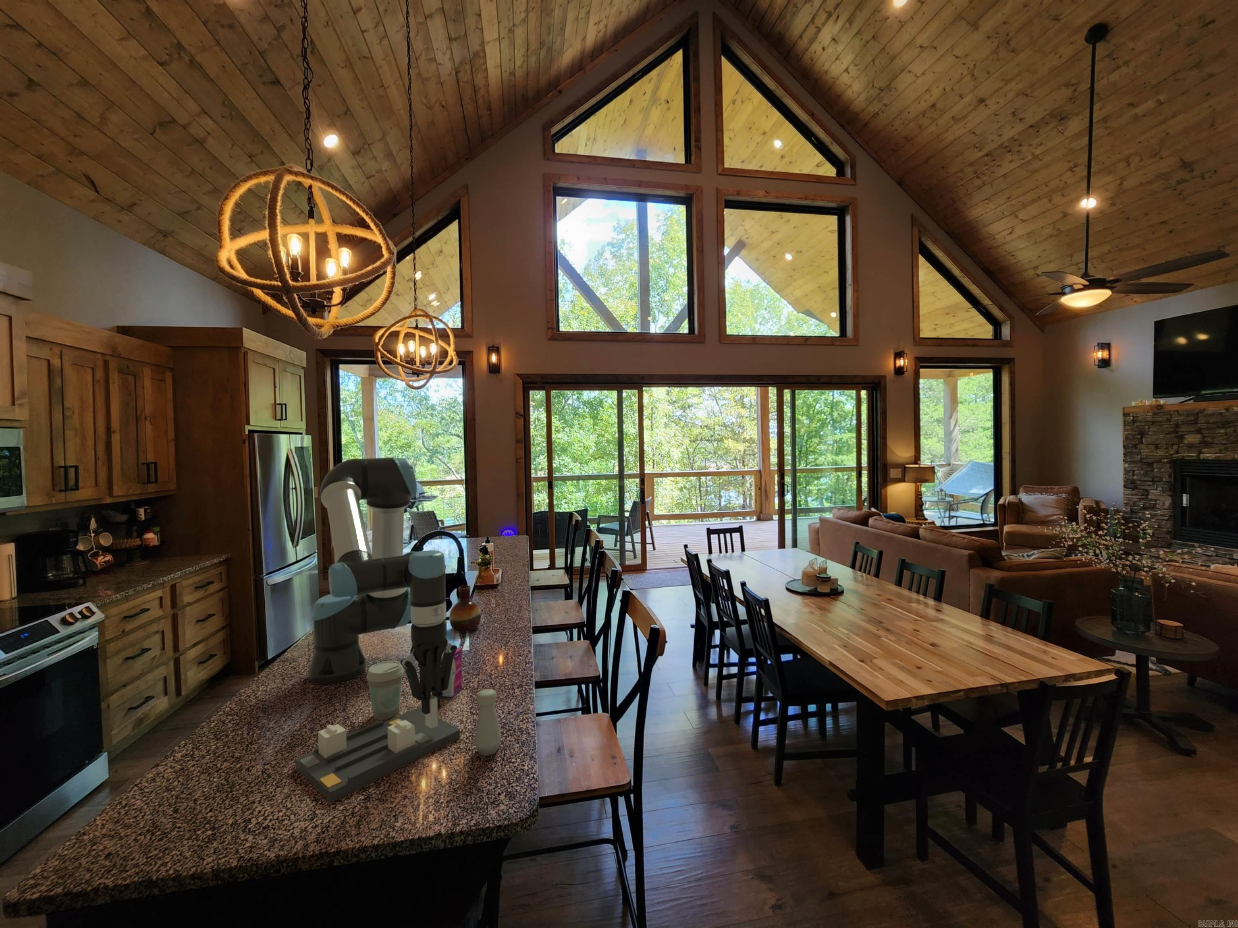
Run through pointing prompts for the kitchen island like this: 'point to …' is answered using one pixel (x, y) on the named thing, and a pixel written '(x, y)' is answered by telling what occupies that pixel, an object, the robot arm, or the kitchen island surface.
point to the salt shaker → (487, 723)
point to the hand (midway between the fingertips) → (431, 725)
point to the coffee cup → (385, 688)
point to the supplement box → (454, 676)
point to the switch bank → (371, 755)
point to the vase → (465, 612)
